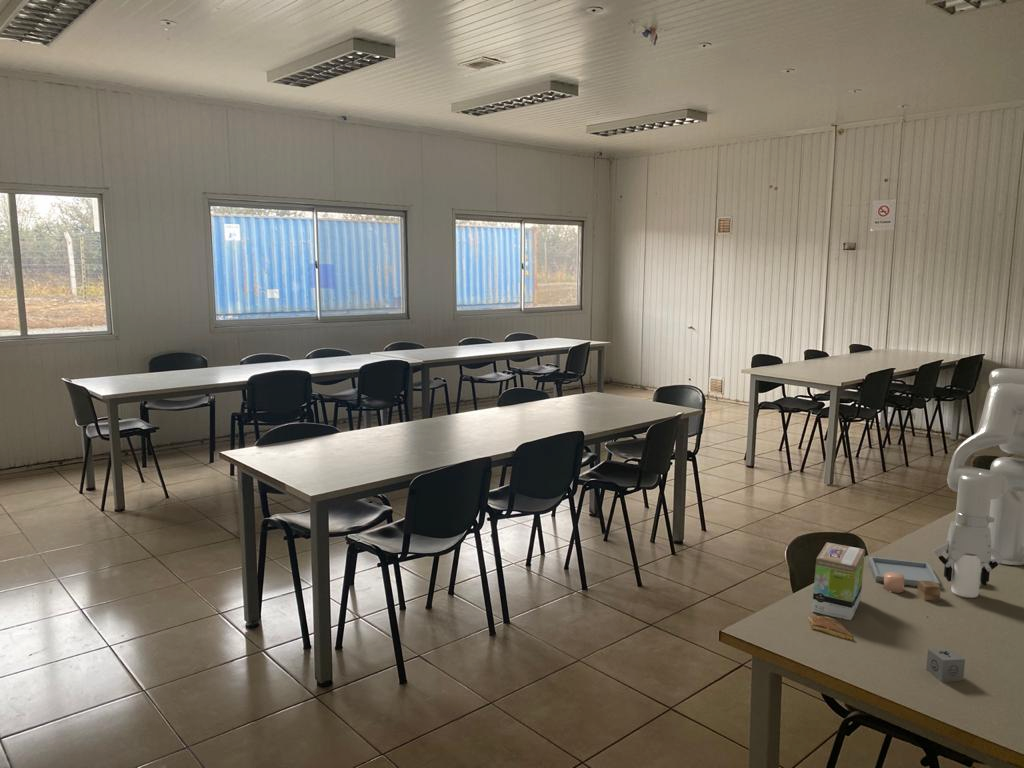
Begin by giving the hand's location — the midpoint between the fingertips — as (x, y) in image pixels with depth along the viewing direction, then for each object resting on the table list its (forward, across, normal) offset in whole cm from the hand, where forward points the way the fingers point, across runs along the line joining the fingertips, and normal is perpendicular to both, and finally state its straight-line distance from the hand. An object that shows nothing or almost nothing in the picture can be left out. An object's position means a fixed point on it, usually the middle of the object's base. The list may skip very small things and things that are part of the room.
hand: (965, 581), depth 208 cm
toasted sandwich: (+4, +36, +34) cm, 50 cm away
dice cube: (+4, +15, +50) cm, 53 cm away
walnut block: (+4, +10, +6) cm, 12 cm away
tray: (+4, +14, -9) cm, 17 cm away
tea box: (+4, +34, +20) cm, 40 cm away
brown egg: (+4, +18, +3) cm, 19 cm away
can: (+4, 0, 0) cm, 4 cm away
